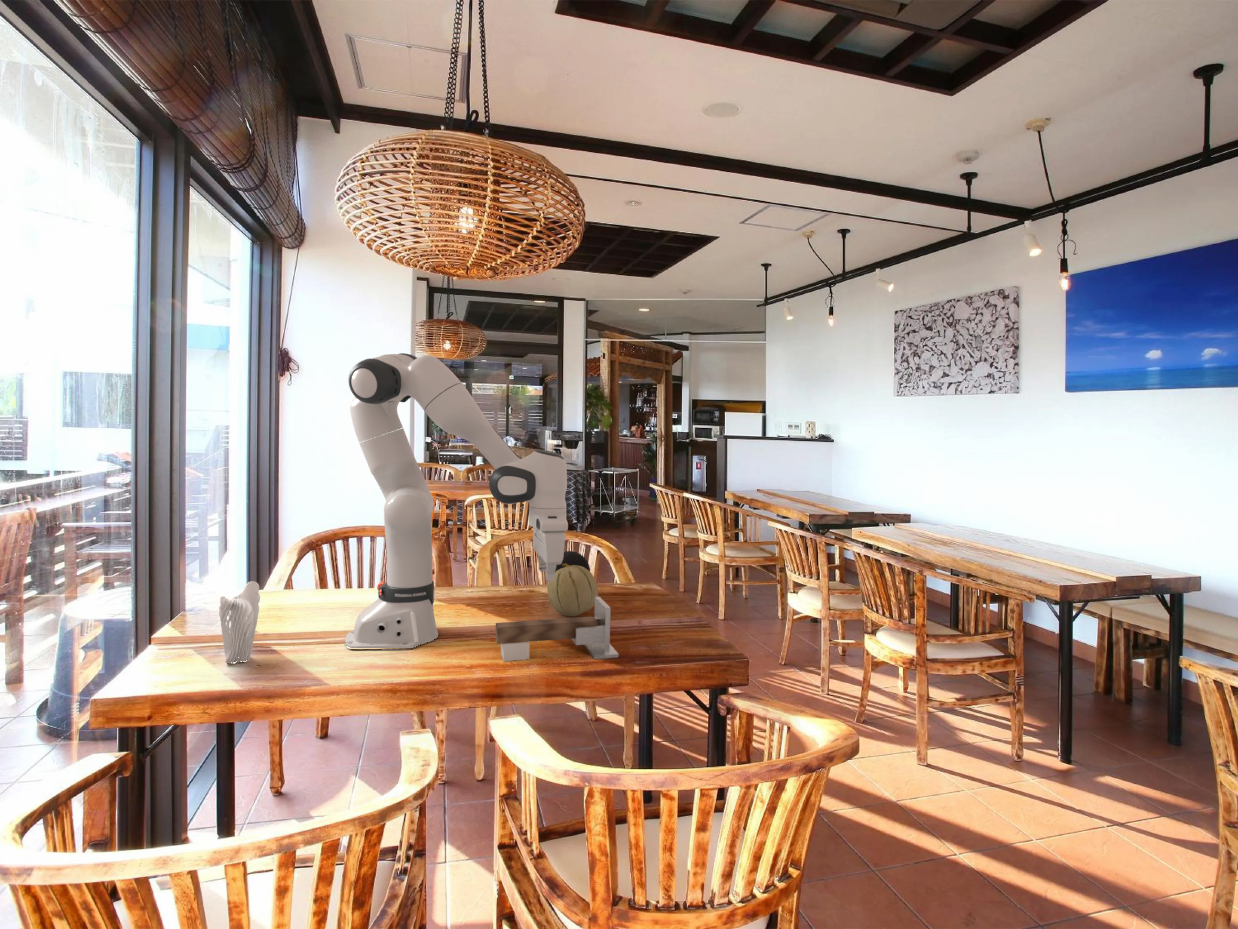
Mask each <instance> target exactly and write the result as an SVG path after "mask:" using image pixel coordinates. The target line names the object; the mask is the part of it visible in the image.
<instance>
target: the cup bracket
mask: <svg viewBox="0 0 1238 929" xmlns="http://www.w3.org/2000/svg"><path fill="white" fill-rule="evenodd" d="M594 618H595V619H596V620H597V626H590V627H576V628H575V638H573V639H571V641H573V643H574V644H575V646H582V645H583V646H584V647H585V649H586V650H587V651H588V653H589V654H590V655H591V657H592V658H593V659H594V660H603V659H604V660H605V659H615V658H619V652H618V651H617V650H616V649H615V648H614V647H613V645H612V644H611V606H609V605H608V604H607V602H606V601H605V600H603V599H602V597H601V596H598V597H595V605H594Z"/></svg>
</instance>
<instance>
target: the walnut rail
mask: <svg viewBox="0 0 1238 929" xmlns="http://www.w3.org/2000/svg"><path fill="white" fill-rule="evenodd" d="M590 626H597V620H596V619H595V616H580V617H579V616H576V617H564V618H551V619H547V618H546V619H535V620H521V621H504V622H496V623H495V641H496V642H495V643H496V644H497V645H501V644H507V643H520V642H529V643H530V642H533V643H534V642H543V641H544V642H545V641H556V640H557V641H559V640H569V639H570V640H572V639H573V638H575V628H576V627H590Z"/></svg>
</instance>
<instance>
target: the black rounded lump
mask: <svg viewBox="0 0 1238 929" xmlns="http://www.w3.org/2000/svg"><path fill="white" fill-rule="evenodd" d="M564 563H565V564H567V565H570V566H572V565H577V566H582V567H584V568H586V569H587V570H589V571H590V572H591V567H590V564H589V562H588V560H587V559H586V558H585V557H584V556H583V555H582V554H581V553H579V552H577V551H573V550H566V551H564V556H563V561H562V563H561V564H560V565H556V570H555V572H556V571H557V570H559V569H561V568H564V567H565V566H562V564H564Z"/></svg>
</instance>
